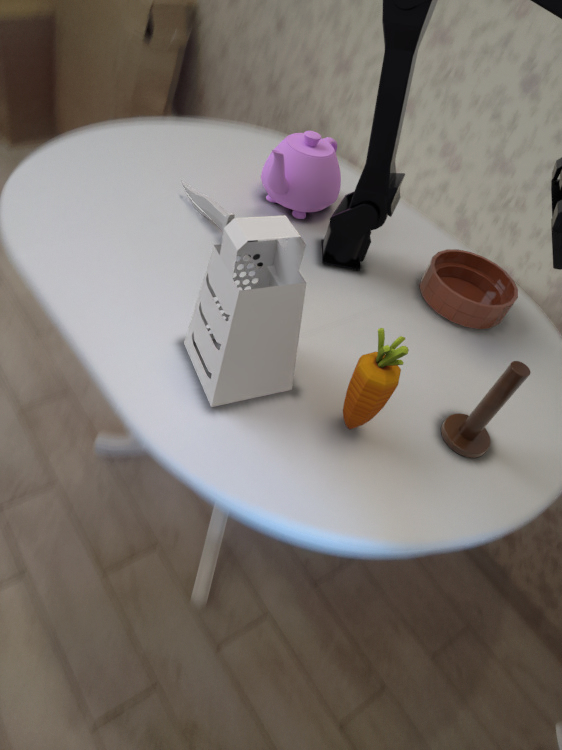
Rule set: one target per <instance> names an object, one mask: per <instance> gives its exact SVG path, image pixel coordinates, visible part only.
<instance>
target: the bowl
mask: <svg viewBox="0 0 562 750" xmlns="http://www.w3.org/2000/svg"><path fill="white" fill-rule="evenodd" d="M419 290H420V293H421V296H422V298H423V299H424V301H425V302H426V304H427V305H428V306H429V307H430V308H431V309H433V311H435V312H436V313H437V314H438V315H440V316H441V317H443V318H444V319H447V320H448V321H450V322H452V323H454V324H457V325H460V326H462V327H465V328H470V329H475V330H485V329H486V330H487V329H488V330H489V329H492V328H494V327H496V326H498V325H500V324H501V322H502V321H503V320H504V319H505V316H506V315H507V314H508V312H509V311H510V310H511V309H512V307H513V306H514V304H515V303H516V301H517V300H518V298H519V289H518V286H517V284H516V281H515V280H514V279H513V277H512V276H511V275H510V274H509V273H508V272H507V271H506V270H505V269H504V268H503V267H501V266H500V265H498V264H497V263H496V262H494V261H492V260H490V259H488V258H487V257H485V256H483V255H481V254H477V253H476V252H473V251H468V250H464V249H456V248H454V249H450V248H449V249H448V248H447V249H444V250H439V251H437V252H436V253H435V254H434V255H433V256H432V257H431V259H430V260H429V263H428V264H427V267H426V268H425V270H424V272H423V274H422V277H421V278H420V282H419Z"/></svg>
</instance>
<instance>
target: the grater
mask: <svg viewBox="0 0 562 750" xmlns="http://www.w3.org/2000/svg"><path fill="white" fill-rule="evenodd" d="M278 239H286V241H285V246H284V247H283V246H282V244H281V243H280V241H279V240H278ZM252 240H258V241H256V242H247V241H252ZM306 248H307V243H306V242H305V241H304V238H303V237H302V236H301V235H300V233H299V232H298V230H297V229H296V228H295V226H294V225H293V223H292V222H291V220H290V219H289V218H288V217H287V215H285V214H284V215H268V216H250V217H248V216H247V217H246V216H245V217H235V218H234V219H233V220H232V221H231V222H230V223H228V224H227V225H226V226H225V227H224V231H223V234H222V238H221V243H219V244H213V246H212V248H211V249H212V250H211V253H210V255H209V259H208V262H207V266H206V268H205V269H206V270H205V273H204V275H203V278H202V283H201V284H200V285H201V286H200V290H199V292H198V295H197V297H196V298H197V299H196V302H195V305H194V308H193V312H192V316H191V319H190V321H189V325H188V329H187V332H186V335H185V338H184V341H183V344H184V347H185V349H186V351H187V354H188V356H189V358H190V361H191V363H192V366H193V368H194V371H195V372H196V375H197V378H198V379H199V382H200V384H201V387H202V390H203V392H204V395H205V396H206V398H207V401H208V403H209V406H210V407H211V408H214V407H218V406H219V407H220V406H223V405H228V404H233V403H238V402H242V401H247V400H251V399H256V398H260V397H265V396H269V395H274V394H280V393H284V392H288V391H292V390H293V384H294V377H295V370H296V363H297V356H298V355H297V354H298V347H299V340H300V334H301V333H300V332H301V326H302V318H303V311H304V303H305V296H306V289H307V281H306V280H305V278H304V277H303V275H302V273H301V272H300V270H301V266H302V262H303V258H304V255H305V252H306ZM256 254H259V255H260V258H259V259H258V260H254V259H253V256H254V255H256ZM249 255H250V256H251V257H250V256H249ZM246 256H249V257H250V258H249V259H248V260H245V259H244V258H245V257H246ZM237 257H240V259H239V260H238V261H237ZM260 262H262V263H263V266H261V267H258V266H257V264H258V263H260ZM250 264H253V266H252V267H251V268H248V265H250ZM240 265H243V268H242V269H238V267H239V266H240ZM252 272H255V273H254V274H253V275H249V274H250V273H252ZM242 273H245V275H244V276H240V274H242ZM234 274H236V276H234ZM254 279H257V280H258V281H257V282H255V283H253V282H252V281H253V280H254ZM246 280H248V283H246V284H244V281H246ZM236 281H239V284H237V283H236ZM247 287H250V288H249V289H246V288H247ZM240 288H241V290H240ZM214 298H216V299H217V300H215V299H214ZM217 304H218V305H220V306H218V305H217ZM221 311H223V313H221ZM224 317H225V318H224ZM207 326H208V327H209V328H208V327H207ZM210 332H211V333H210ZM213 339H214V340H215V342H216V343H217V344H220V346H219V349H218V347H216V345H215V343H214V341H213ZM194 342H195V345H196V347H197V349H198V351H197V349H196V347H195V345H194ZM198 352H199V354H200V356H201V358H202V360H203V363H204V365H205V367H206V369H207V371H208V373H211V377H209V376H208V374H207V372H206V370H205V367H204V365H203V363H202V361H201V359H200V356H199V354H198Z"/></svg>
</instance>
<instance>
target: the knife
mask: <svg viewBox="0 0 562 750" xmlns="http://www.w3.org/2000/svg"><path fill="white" fill-rule="evenodd" d="M181 184H182V187H183V189H184V188H185V190H186V192H187V193H188V194H189V196H190V197H191V198H192V200H193V201H194V202H195V203H196V204H197V205H198V206H199V207H200V208H201V209H202V210H203V211H204V212H205V213H206V214H207V215H208V216H209V217H210V218H211V219H212V220H213V221H214V222H215V223H216V224H215V223H214V222H213V221H212V220H211V219H210V218H209V217H208V216H207V215H206V214H205V213H204V212H202V211H201V210H200V209H199V208H198V207H197V206H196V205H195V204H194V203H193V202H192V200H191V199H190V198H189V197H188V195H187V194H186V197H187V198H188V200H189V202H190V203H191V205H192V206H193V207H194V208H195V210H196V211H197V212H198V213H199V214H201V215H202V216H204V217H206V218H207V219H208V220H210V221H211V222H212V223H214V224H215V225H216V226H217V227H218V228H219V229H220V230H221V232H222V233H221V234H222V235H223V231H224V227H225V226H226V225H227V224H228V223H230V222H231V221H232V220H233V219H234V218H236V217H235V216H236V215H235V213H234V212H231V213H228V211H226V210H225V209H224V208H223V207H222V206H221V205H220V204H219V203H218V202H217V201H216V200H215V199H214V198H212V197H211V196H210V195H207V194H205V193H202V192H199V191H198V190H197V189H195V188H194V187H192V185H191V184H188V183H187V182H185V181H183V180H181ZM185 190H184V191H185ZM186 192H185V193H186ZM256 241H259V240H252V241H247V242H256ZM248 257H250V258H251V256H250V255H248ZM259 258H260V255H259V254H256V255H254V256H253V259H254V260H258V259H259ZM262 266H263V263H262V262H260V263H258V264H257V265H256V267H257V268H261V267H262Z"/></svg>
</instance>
